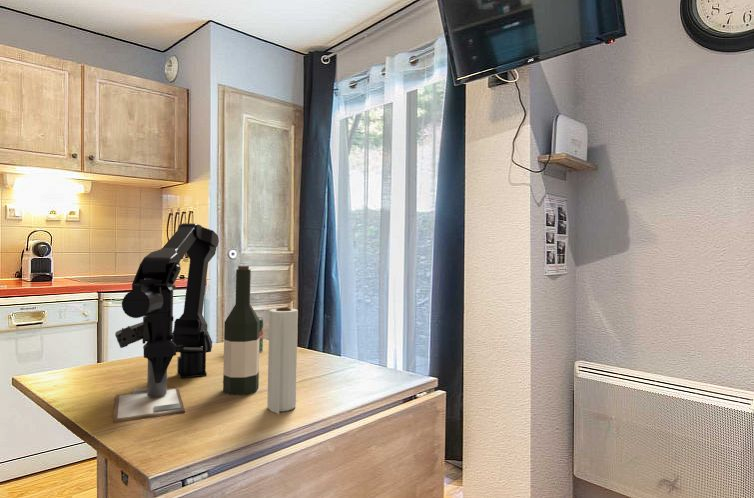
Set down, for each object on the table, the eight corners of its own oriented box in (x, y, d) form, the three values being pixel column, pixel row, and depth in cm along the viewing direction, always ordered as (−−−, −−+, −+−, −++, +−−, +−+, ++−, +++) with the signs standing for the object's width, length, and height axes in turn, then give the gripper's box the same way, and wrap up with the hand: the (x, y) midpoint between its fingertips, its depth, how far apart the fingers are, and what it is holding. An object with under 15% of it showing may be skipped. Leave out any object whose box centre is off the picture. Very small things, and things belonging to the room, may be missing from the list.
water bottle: (166, 390, 107) (167, 346, 107) (167, 395, 103) (168, 349, 103) (146, 392, 105) (147, 347, 105) (147, 397, 102) (147, 351, 102)
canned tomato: (243, 348, 156) (244, 316, 156) (266, 349, 156) (266, 317, 156) (234, 353, 148) (234, 319, 148) (257, 355, 148) (258, 320, 148)
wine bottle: (265, 387, 114) (268, 266, 114) (245, 397, 106) (248, 267, 106) (237, 383, 117) (239, 265, 117) (215, 393, 109) (218, 266, 109)
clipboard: (178, 389, 111) (178, 384, 111) (184, 412, 96) (185, 406, 96) (116, 396, 105) (116, 391, 105) (113, 422, 90) (113, 416, 90)
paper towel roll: (280, 401, 104) (282, 306, 104) (301, 406, 101) (303, 308, 101) (257, 410, 98) (259, 309, 98) (278, 416, 95) (281, 312, 95)
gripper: (119, 307, 109) (118, 373, 109) (116, 319, 92) (115, 397, 92) (171, 305, 114) (169, 369, 114) (177, 316, 98) (175, 390, 98)
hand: (157, 380), depth 104 cm, fingers closed on water bottle, 4 cm apart
